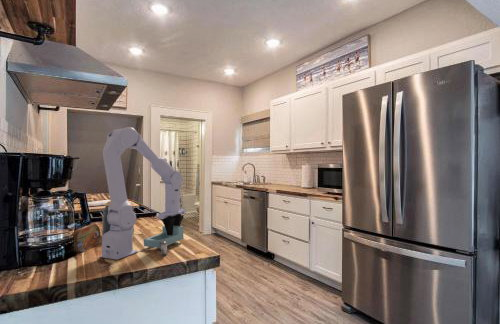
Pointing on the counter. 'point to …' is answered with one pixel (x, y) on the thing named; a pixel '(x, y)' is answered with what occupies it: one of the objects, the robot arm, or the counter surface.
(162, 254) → the peg
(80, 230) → the tin
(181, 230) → the link
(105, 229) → the canister
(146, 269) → the counter surface
